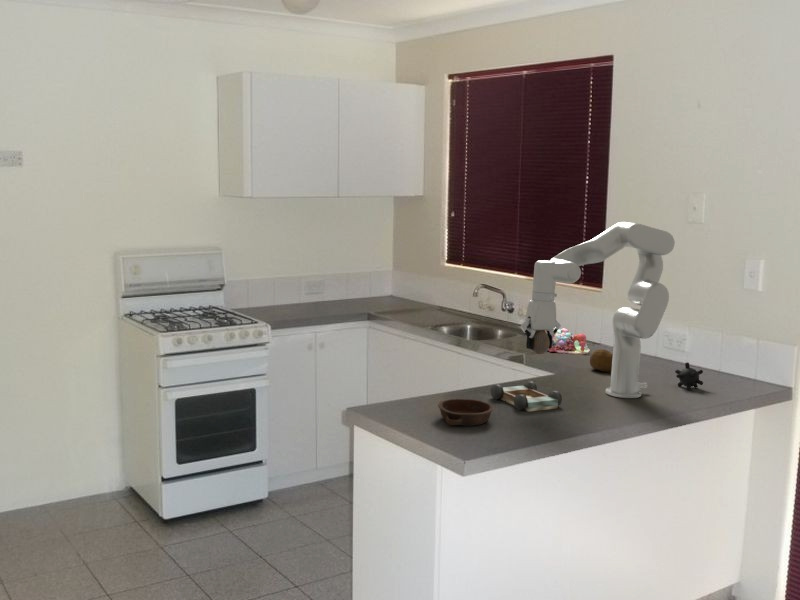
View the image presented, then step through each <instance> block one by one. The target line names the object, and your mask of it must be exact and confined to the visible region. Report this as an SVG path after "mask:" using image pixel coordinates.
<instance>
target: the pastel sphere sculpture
mask: <svg viewBox="0 0 800 600" xmlns="http://www.w3.org/2000/svg"><path fill="white" fill-rule="evenodd" d="M545 332H546V330H545ZM586 341H587V336H586V334H585V333H580V334H574V335H573V333H572V332H570V331H569V330H568V329H567V328H564V327H562V328H561V329H560V328H559V329H558V330H557V332H556V334H555V336H554V337H553V339H552V348H551V349H548V352H550V353H559V354H567V355H568V354H569V355H570V354H571V355H585V354H586V355H587V354H590V351H591V350H590V348H588V344H587V343H586Z"/></svg>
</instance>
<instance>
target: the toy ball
mask: <svg viewBox="0 0 800 600" xmlns="http://www.w3.org/2000/svg"><path fill="white" fill-rule="evenodd" d="M684 366H685V368H683V369H682V370H679V369H675V370H674V371H675V374H676V378H677V379H679V382H678V383H677V386H678V387H679V386H681V387H682V386H685V387H686V390H687V391H691V389H692V387H693V386H694V387H697V388H698V385H700V386H703V385H704V381H703V380H700V375H702V374H703V373H704V370H703V369H698V370H696V369H694V368H692V367H690V362H688V361H687V362H685V364H684ZM694 387H693V388H694Z"/></svg>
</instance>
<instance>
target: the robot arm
mask: <svg viewBox="0 0 800 600" xmlns="http://www.w3.org/2000/svg"><path fill="white" fill-rule="evenodd" d="M674 247H675V239H674V236H673V235H672V234H671V233H670V232H668V231H666V230H662V229H659V228H655V227H651V226H648V225H645V224H641V223H638V222H629V221H620V222H619V221H618V222H617V223H615V224H614V225H612V226H611V227H609V228H607V229H606V230H604V231H603V232H601V233H600V234H598V235H596V236H594V237H593V238H592V239H590V240H587V241H585V242H582V243H580V244H577V245H575V246H572V247H569V248H567V249H565V250H563V251H562V252H560V253H558V254H557V255H554V257H552V258H550V260H545V259H544V260H537V261H536V262H535V263H534V267H533V268H534V269H533V277H532V278H533V279H532V280H533V281H532V291H531V299H530V300H529V301H528V304H527V308H526V313H525V318H524V319H525V320H524V322H523V323H522V324H521V325H520V329H521V331H522V332H523V334H524V335H525V337H526V344H525V345H526V349H528V350H530V351H531V350H533V347H534V338H533V336H534V334H535V332H536V330H546V333H547V335H548V337H549V340H550V345H549V349H551V348H552V339H553V337H554V336H555V334H556V332H557V330H559V329H560V328H561V326H562V325H561V324H560V322H558V320H557V306H556V301H555V298H557V293H556V283H563V284H573V283H576V282H577V281H578V280H579V279H580V278H581V274H582V270H581V268H580V267H581V266H584V265H590V264H592V265H593V264H597V263H598V264H599V263H601V262H605V261H606V260H607V259H609V258H610V257H612V256H613V255H615V254H616V253H618V252H620V251H621V250H623V249H625V248H633V249H636V252H637V255H638V260H639V261H638V265H637V269H636V271H635V273H634V277H633V279H632V281H631V284H630V285H629V288H628V291H627V299H628V301H629V302H630V303H632V304H633V305H635V306H638V307H639V309H638V308H635V307H632V306H631V307H629V306H623V307H620V308H619V309H617V310H616V311H615V312H614V314H613V317H612V331H613V347H612V348H613V349H612V354H613V358H612V371H611V372H610V384H609V385H610V386H609V387H606V388H605V394H607V395H609V396H612V397H614V398H615V397H616V398H620V399H638V398H640V397H641V396H642V391H640V390H641V389H646V388H648V387H649V386H648V383H647V382H639V376H640V375H639V372H640V360H641V348H642V345H641V339H642V340H644V339H650V338H651V337H652V336H654V334H655V333H656V332H657V330H658V328H659V326H660V323H661V321H662V319H663V316H664V314H665V312H666V309H667V308H668V304H669V300H670V293H669V290H668V288H667V287H666V285H664V284H663V283H660V279H661V276H662V274H663V271H664V261H663V257H662V256H666V255H669V254H670V253H672V251H673V250H674Z"/></svg>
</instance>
